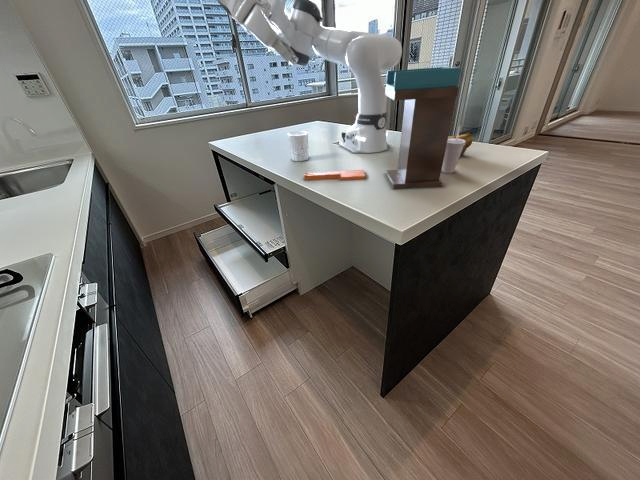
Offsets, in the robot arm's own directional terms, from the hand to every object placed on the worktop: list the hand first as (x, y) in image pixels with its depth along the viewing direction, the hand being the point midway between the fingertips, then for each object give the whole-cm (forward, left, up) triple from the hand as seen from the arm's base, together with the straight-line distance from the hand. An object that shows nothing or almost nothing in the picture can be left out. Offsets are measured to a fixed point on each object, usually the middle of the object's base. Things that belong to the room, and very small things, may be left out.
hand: (293, 61), depth 70 cm
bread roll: (+17, +54, -33) cm, 65 cm away
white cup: (-20, +10, -33) cm, 40 cm away
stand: (+24, +24, -33) cm, 47 cm away
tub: (+24, +24, -8) cm, 34 cm away
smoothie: (+27, +40, -33) cm, 58 cm away
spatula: (+6, +8, -33) cm, 35 cm away
